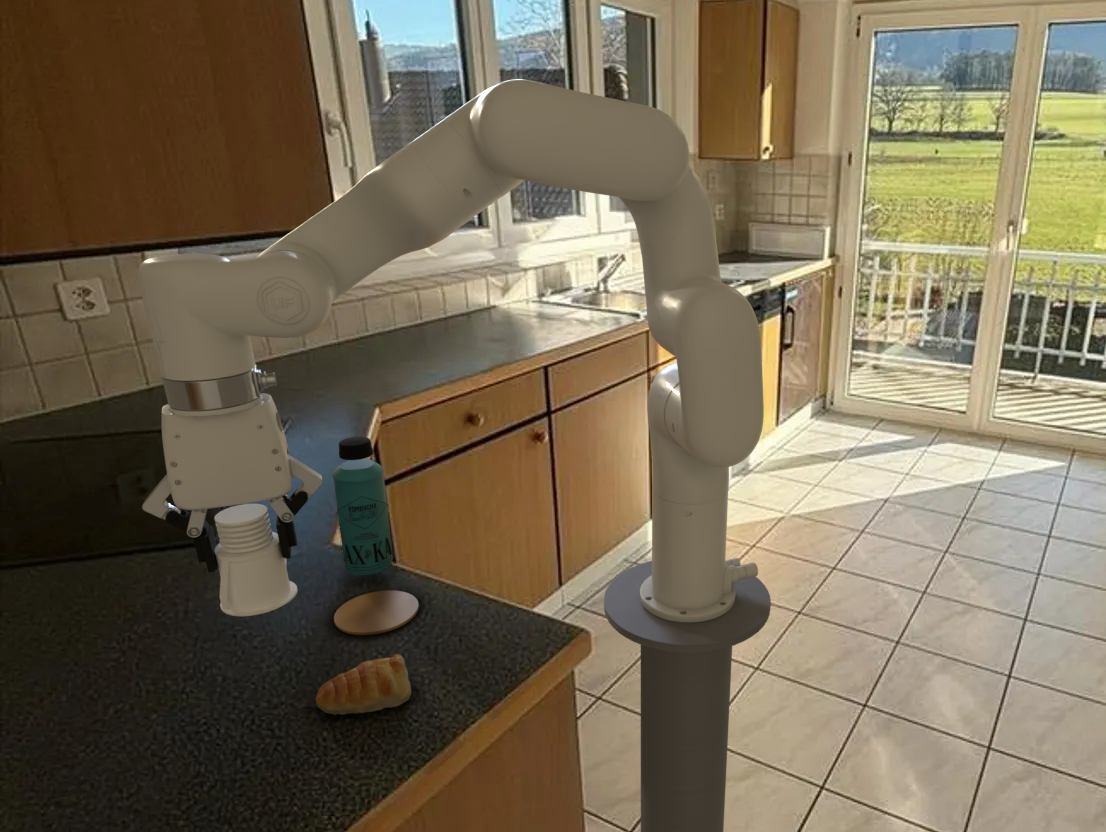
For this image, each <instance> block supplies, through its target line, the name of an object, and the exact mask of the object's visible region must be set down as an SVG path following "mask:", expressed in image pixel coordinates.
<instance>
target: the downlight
mask: <svg viewBox="0 0 1106 832" xmlns="http://www.w3.org/2000/svg"><path fill="white" fill-rule="evenodd" d="M269 514H270V513H269V509H268V507H267V505H264V504H261V503H244V504H237V505H232V506H229V507H227V508H225V509H222V510H221V511H218V513H216V514H215V515H214V518H213V519H214V522H215V528H216V531H217V536H218V540H219V543H217V544H216V545H217V546H216V547H215V551H214V552H215V556H216V560H217V564H218V568H217V569H218V572H219V576H220V582H219V600H220V603H219V607H220V610H221V612H223V613H224V614H226V615H229V616H234V617H251V616H257V615H261V614H266V613H269V612H272V611H274V610H275V611H276V610H278V609H279V608H281V607H283V606H285V605H286V604H287V605H288V603H290V602H291V601H292V600H293V599H294V598H295V597H296V596H297V594H298V586H297V584H296V583H295V582H293V581H292V580H290V577H289V574H288V568H287V563H288V562H287V560H288V559H285V558H283V557H282V552H281V547H280V542H279V537H278V533H277V532H275V531H273V528H272V524H271V519H270V515H269Z"/></svg>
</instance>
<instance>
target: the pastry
mask: <svg viewBox="0 0 1106 832" xmlns="http://www.w3.org/2000/svg"><path fill="white" fill-rule="evenodd" d="M411 695H412V687H411V682H410V680H409V673H408V669H407V666H406V663H405V659H404V657H403V656H402V655H401V654H399V653H395V654H394V655H393V656H392V657H384V658H375V659H373V660H365V661H363V662H361V663H360V664H358V665H357V666H356V667H354V668H352V669H350V670H348V671H346V672H342V673H339V674H338V675H337V676H335V677H333V678H331V679H329V680H328V681H326V682H324V683H323V684H322V685H321V686H320V687H319V689H318V691H317V693H316V697H315V704H316V706H317V708H318V709H319V710H321V711H323V712H324V713H326V714H332V715H334V716H336V715H342V716H345V715H346V714H356V715H358V714H364V713H371V712H376V711H382V710H383V709H386V708H395V707H398V706H401V705H402V704H404V703H406V702H407V701H409V700H410V698H411Z"/></svg>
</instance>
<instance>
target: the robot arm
mask: <svg viewBox="0 0 1106 832" xmlns="http://www.w3.org/2000/svg"><path fill="white" fill-rule="evenodd" d="M525 181H526V182H531V183H536V184H541V185H545V186H546V185H547V186H550V187H555V188H561V189H565V190H572V191H577V192H578V191H579V192H582V193H583V192H585V193H589V194H596V195H603V196H610V197H615V198H619V199H620V200H621V201H622V203H623V204H624V205H625V206H626V209H627V210H628V211H629V213H630V215H631V217H632V219H633V222H634V224H635V228H636V233H637V237H638V242H639V243H638V244H639V249H640V253H641V254H640V255H641V262H642V272H643V283H644V294H645V305H646V306H645V307H646V320H647V327H648V330H649V332H650V335H651V336H652V338H653V339H654V341H655V342H656V343H657V345H659V346H660V348H662V349H663V350H665V352H668V354H671V355H672V356H673V357H675V358H676V361H675V362H672V363H670V364H668V365H666V366H665V367H664V368H663V369H661V370H660V371H659V373H657V375H656V376H655V378H654V379H653V381H652V383H651V385H650V387H649V391H648V395H647V403H646V404H647V421H648V430H649V436H650V437H649V438H650V445H651V462H652V464H651V465H652V488H651V561H652V575H651V576H649V577H648V578H647V579H646V580H645V581H644V582H643V583H642V585H641V588H640V601H641V603H642V605H643V606H644V608H645V609H646V610H648V611H649V612H650V613H652V614H653V615H655V616H657V617H660V618H662V619H666V620H669V621H675V622H684V623H693V622H702V621H708V620H711V619H714V618H717V617H719V616H721V615H723V614H725V613H726V612H727V611H729V610H730V609H731V608H732V606H733V605H734V602H735V596H736V591H735V587H734V585H733V584H734V583H737V581H738V580H739V579H746V578H751V577H755V576H756V577H758V574H759V568H758V565H757V564H756V563H755V562H754V561H753V562H752V561H751V562H748V563H743V564H741V560H740V558H739V557H734V558H730V559H727V560H726V555H727V553H726V550H727V529H728V510H729V509H728V508H729V507H728V506H729V491H730V490H729V487H730V467H733V466H736V465H738V464H740V463H742V462H744V460H746V459H747V458H748V457H749V456H750V455H751V454H752V453H753V452H754V450H755V449H756V447H757V445H758V443H759V441H760V438H761V436H762V431H763V426H764V415H765V406H764V403H765V401H764V380H763V378H764V377H763V359H762V358H763V357H762V356H763V355H762V340H761V330H760V325H759V322H758V318H757V315H756V313H755V311H754V308H753V306H752V304H751V303H750V302H749V300H748V299H747V297H746V296H744V294H743V293H741V292H740V291H739V290H738V289H736V287H733V286H731V285H729V284H727V283H725V282H723V281H722V277H721V270H720V260H719V250H718V243H717V235H716V225H715V220H714V214H713V213H714V212H713V209H712V206H711V202H710V199H709V196H708V193H707V191H706V189H705V187H704V184H703V183H702V181H701V179H700V177H699V176H698V174H697V172H696V171H695V169H694V168H693V167H692V165H691V164H690V148H689V143H688V141H687V137H686V135H685V133H684V131H683V129H682V128H681V126H680V125H679V124H678V122H677V121H676V120H675V119H674V118H673V117H671V116H670V115H669V114H668V113H666V112H664V111H663V110H661V109H658V108H656V107H653V106H649V105H645V104H640V103H636V102H630V101H626V100H621V99H616V98H612V97H607V96H602V95H597V94H593V93H587V92H583V91H578V90H573V89H571V88H570V89H569V88H565V87H561V86H558V85H557V86H556V85H552V84H548V83H545V82H540V81H535V80H532V79H531V80H530V79H522V78H516V79H509V80H505V81H501V82H500V83H497V84H495V85H493V86H491V87H488V88H486V89H485V90H483V91H482V92H480V93H479V94H477V95H475V97H473V98H472V99H470V100H469V101H467V102H466V103H464V104H463V105H461V106H460V107H459V108H457V109H456V110H454V111H452V113H450V114H449V115H447V116H446V117H445V118H443V119H442V120H441V121H439V122H438V123H436V124H434V125H433V126H432V127H431V128H428V130H426V131H425V132H423V133H421V134H420V135H419V136H418V137H416V138H415V139H414V140H412V141H411V142H409V143H407V144H406V145H405V146H404V147H402V148H400V149H399V150H398V151H396V152H395V153H393V154H391V155H390V156H388V157H387V158H385V159H384V160H383V161H381V162H380V163H379V164H378V165H376V166H375V167H374V168H372V169H371V170H370V171H369V172H367V173H366V174H365V175H363V177H362V178H360V180H359V181H358V182H356V184H355V185H353V186H352V187H351V188H350V189H349V190H348V191H346V192H345V193H344V194H342V195H341V196H340V197H338V198H337V199H336V200H334V201H333V202H331V203H330V204H329V205H327V206H326V207H324V208H323V209H322V210H320V211H319V212H317V213H315V214H314V215H313V216H311V217H310V218H309V219H307V220H306V221H304V222H303V223H301V224H300V225H299V226H297V227H296V228H294V229H293V230H291V231H290V232H289V233H287V234H286V235H284V236H283V237H281V238H280V239H278V240H277V241H276V242H274V243H273V244H271V245H270V246H268V247H267V248H266V249H264V250H263V251H262V252H260V253H259V254H258V255H257V256H255V257H253V258H248V259H240V260H230V259H229V258H227V257H225V256H223V255H219V254H213V253H177V254H176V253H175V254H166V255H159V256H154V257H151V258H148V259H145V260H144V261H142V262H141V263H140V265H139V267H138V270H137V280H138V285H139V286H138V287H139V291H140V294H141V298H142V303H143V306H144V310H145V314H146V318H147V323H148V326H149V330H150V336H151V339H152V343H153V348H154V351H155V355H156V359H157V364H158V368H159V372H160V375H161V380H162V383H163V388H164V392H165V395H166V400H167V404H164V405H163V406H162V408H161V438H162V440H161V441H162V447H163V448H162V449H163V456H164V463H165V470H166V474H165V475H164V477H162V479H161V480H160V481H159V482H158V483H157V485H156V486H155V487H154V488H153V490H151V491H150V493H149V494H148V496H147V497H145V499H144V501H143V504H142V506H141V508H142V510H143V511H144V512H146V513H148V514H150V515H153V516H155V517H157V518H159V519H162V520H164V521H165V522H166V523H167V524H169V525H171V526H173V527H175V528H177V529H179V530H181V531H183V532H185V533H186V535H187V536H188V537H189V538H192V539H193V544H194V549H195V552H196V556H197V560H198V562H199V563H205V564H206V568H207V572H208V573H215V572H216V571H218V569H219V568H218V564H217V560H216V556H215V552H214V551H215V547H216V546H217V545H218V544H217V541H216V537H215V533H214V528H213V525H211V524H210V523H208V521H207V520H206V517H207V513H208V510H209V509H217V508H222V507H232V506H237V505H243V504H251V503H257V502H262V501H266V502H267V503H268V505H270V507H271V508H272V509H273V511H274V512H275V514H276V521H275V522H276V524H275V526H276V527H275V528H276V533H277V534H278V537H279V542H280V547H281V552H282V557H283V558H285V559H287V560H288V559H291V558H292V547H297V546H298V538H297V532H296V528H295V527H296V526H295V521H294V518H295V516H296V515H297V514H298V513H299V512H300V510H301V509H302V508H303V507H304V506H305V505H306V503H307V502H308V500H309V499H310V498H311V497H312V496H313V495H314V494H315V493H316V492H317V491H318V490H319V489H320V487H322V485H323V482H324V481H323V476H322V475H321V473H320V472H319V473H318V472H317V471H315V470H314V469H313V468H311V467H310V466H308V465H306V464H304V463H303V462H301V461H300V460H298V459H296V458H295V457H293V456H292V455H291V454H290V453H291V452H290V449H289V446H288V441H287V438H286V434H285V431H284V426H283V423H282V420H281V417H280V414H279V412H278V408H277V406H276V404H275V402H274V401H275V400H274V399H273V397H272V395H271V394H269V393H265V392H264V391H265V389H269V387H277V386H278V384H277V377H276V373H275V372H274V371H272V372H266V371H262V370H261V368H259V369H258V366H257V365H258V364H256V360H255V355H254V350H253V344H252V340H251V337H263V338H272V339H273V338H274V339H275V338H276V339H294V338H300V337H301V338H302V337H305V336H307V335H310V334H312V333H314V332H315V331H318V329H320V328H322V326H323V325H324V324H325V323H326V321H327V320H328V318H329V316H330V315H331V312H332V311H331V310H332V305H333V302H334V301H336V300H337V299H338V298H339V297H341V296H342V295H344V294H345V293H346V292H347V291H349V290H350V289H352V288H353V287H354V286H356V285H357V284H358V283H360V282H361V281H363V280H364V279H366V278H367V277H369V276H370V275H371V274H374V272H376V271H377V270H378V269H380V268H382V267H383V266H385V265H387V264H388V263H390V262H392V261H394V260H396V259H398V258H400V257H402V256H405V255H406V254H410V253H413V252H416V251H421V250H424V249H427V248H428V249H429V248H430V247H432V246H433V245H436V244H437V243H439V242H441V241H443V240H445V239H446V238H448V237H449V236H450V235H452V234H453V233H455V232H456V231H457V230H459V229H460V228H462V227H463V226H464V225H465V224H467V223H468V222H469V221H471V220H472V219H474V217H476V216H477V215H479V214H480V213H482V212H483V211H484V210H486V209H487V208H489V207H491V205H493V204H494V203H496V201H498V200H500V199H501V198H502V197H504V196H506V195H507V194H509V193H510V192H511V191H513V190H514V189H515V188H516V187H518V186H520V185H521V184H522V183H524V182H525ZM262 392H263V393H262ZM293 478H296V479H298V480H299V481H301V482H302V483H301V484H300V485H299V487H298V488H296V489H295V490H294V492H293V493H291V495H290V496H288V494H289V493H290V492H291V491H292V489H293V482H292V480H293ZM170 495H171V498H172V501H173V504H174V505H172V504H171V503H170V502H169V501H167V499H168V498H169V497H170ZM190 511H191V512H190Z"/></svg>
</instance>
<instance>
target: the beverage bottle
mask: <svg viewBox="0 0 1106 832" xmlns="http://www.w3.org/2000/svg"><path fill="white" fill-rule="evenodd" d="M373 455H374V449H373V446H372V441H371V439H370V438H369V437H366V436H350V437H346V438H343V439H341V440H340V441H339V442H338V457H339V459H341V460H343V461H344V460H345V461H344V462H342V463H340V464H339V465H338V466H337V467H336V468H335V470H334V471H333V472H332V478H333V486H334V492H335V499H336V510H337V511H336V515H337V527H338V530H339V538H340V540H339V541H340V542H339V544H340V550H341V552H342V555H341V559H343V560H342V562H343V563H342V564H343V565H344V568H345V569H346V571H347V572H348V573H350V574H352V575H356V576H367V575H368V576H369V575H373V574H377V573H380V572H383V571H385V570H387V569H388V568H390V566H391V565H392V564H393V560H394V558H395V556H394V546H393V538H392V537H393V536H392V529H391V526H392V525H391V523H390V522H391V519H390V516H391V515H390V514H389V507H390V506H389V504H388V503H387V493H386V484H385V475H384V474H385V473H384V468H383V466H382V465H381V464H379V463H378V462H376V461H374V460H372V459H370V458H369V457H372V456H373Z"/></svg>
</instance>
